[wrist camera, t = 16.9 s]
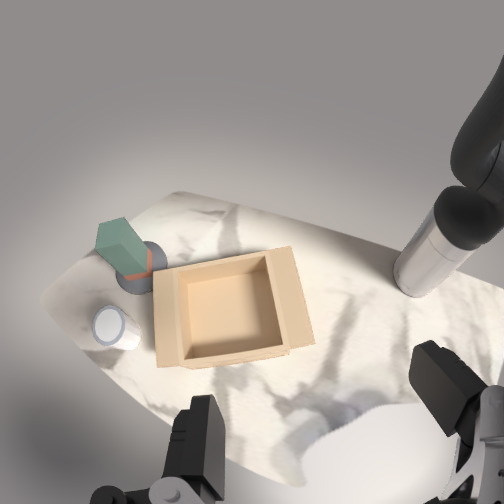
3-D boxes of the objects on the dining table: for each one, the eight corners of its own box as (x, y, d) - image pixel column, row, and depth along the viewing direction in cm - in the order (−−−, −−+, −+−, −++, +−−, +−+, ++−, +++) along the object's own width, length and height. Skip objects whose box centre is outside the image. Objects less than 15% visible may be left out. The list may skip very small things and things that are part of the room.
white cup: (125, 310, 46) (105, 297, 40) (151, 329, 44) (132, 318, 38) (107, 340, 44) (85, 330, 37) (132, 360, 41) (111, 354, 35)
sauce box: (152, 252, 50) (124, 216, 40) (151, 276, 48) (120, 243, 38) (129, 257, 50) (99, 223, 40) (128, 280, 48) (94, 250, 38)
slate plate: (160, 235, 53) (158, 233, 53) (173, 281, 48) (171, 279, 47) (115, 256, 52) (113, 254, 51) (123, 302, 47) (120, 301, 46)
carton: (289, 263, 48) (290, 245, 43) (310, 349, 40) (315, 343, 35) (166, 285, 48) (153, 271, 43) (171, 371, 40) (157, 367, 35)
